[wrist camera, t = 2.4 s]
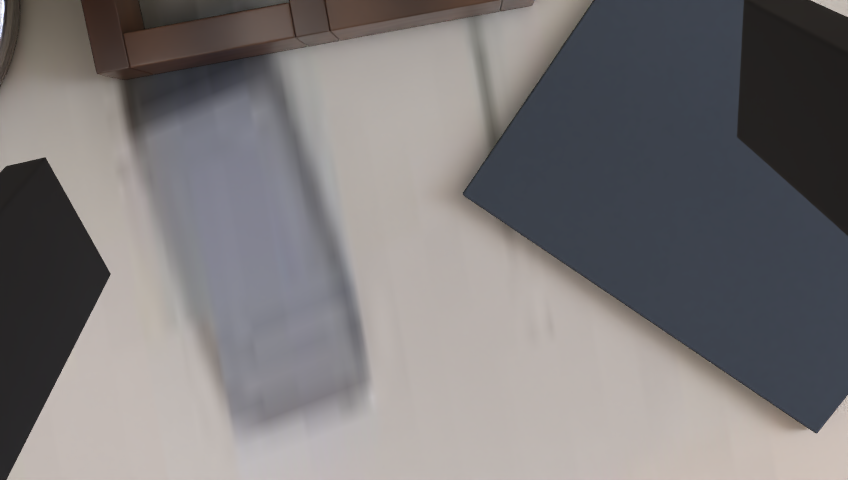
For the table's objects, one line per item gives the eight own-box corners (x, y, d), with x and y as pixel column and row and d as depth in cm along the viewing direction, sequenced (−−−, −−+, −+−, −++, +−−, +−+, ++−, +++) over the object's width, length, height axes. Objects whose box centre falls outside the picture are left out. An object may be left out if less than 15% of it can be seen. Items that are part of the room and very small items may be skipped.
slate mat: (462, 193, 33) (462, 194, 32) (640, -69, 31) (643, -74, 30) (810, 429, 33) (817, 434, 32) (1005, 184, 31) (1015, 184, 31)
